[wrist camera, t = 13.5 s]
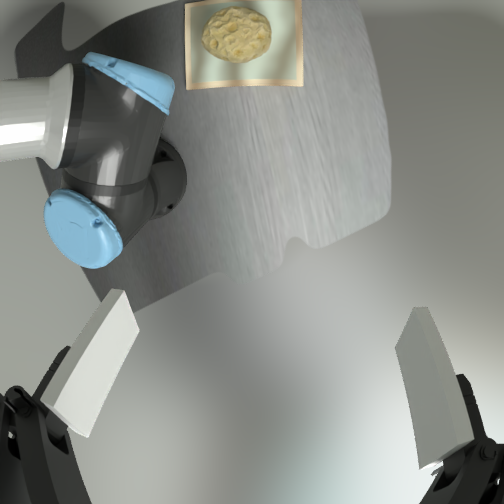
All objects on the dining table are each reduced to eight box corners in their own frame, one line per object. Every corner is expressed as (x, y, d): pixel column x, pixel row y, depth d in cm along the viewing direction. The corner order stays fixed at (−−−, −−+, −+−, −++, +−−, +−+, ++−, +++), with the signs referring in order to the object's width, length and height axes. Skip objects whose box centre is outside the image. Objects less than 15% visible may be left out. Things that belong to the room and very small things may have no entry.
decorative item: (260, 20, 33) (222, -13, 25) (298, 42, 30) (260, 1, 22) (222, 58, 37) (178, 32, 29) (253, 85, 35) (206, 54, 26)
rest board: (189, 89, 39) (186, 89, 38) (187, 6, 30) (184, 3, 29) (302, 86, 37) (303, 86, 36) (300, -2, 28) (301, -5, 27)
